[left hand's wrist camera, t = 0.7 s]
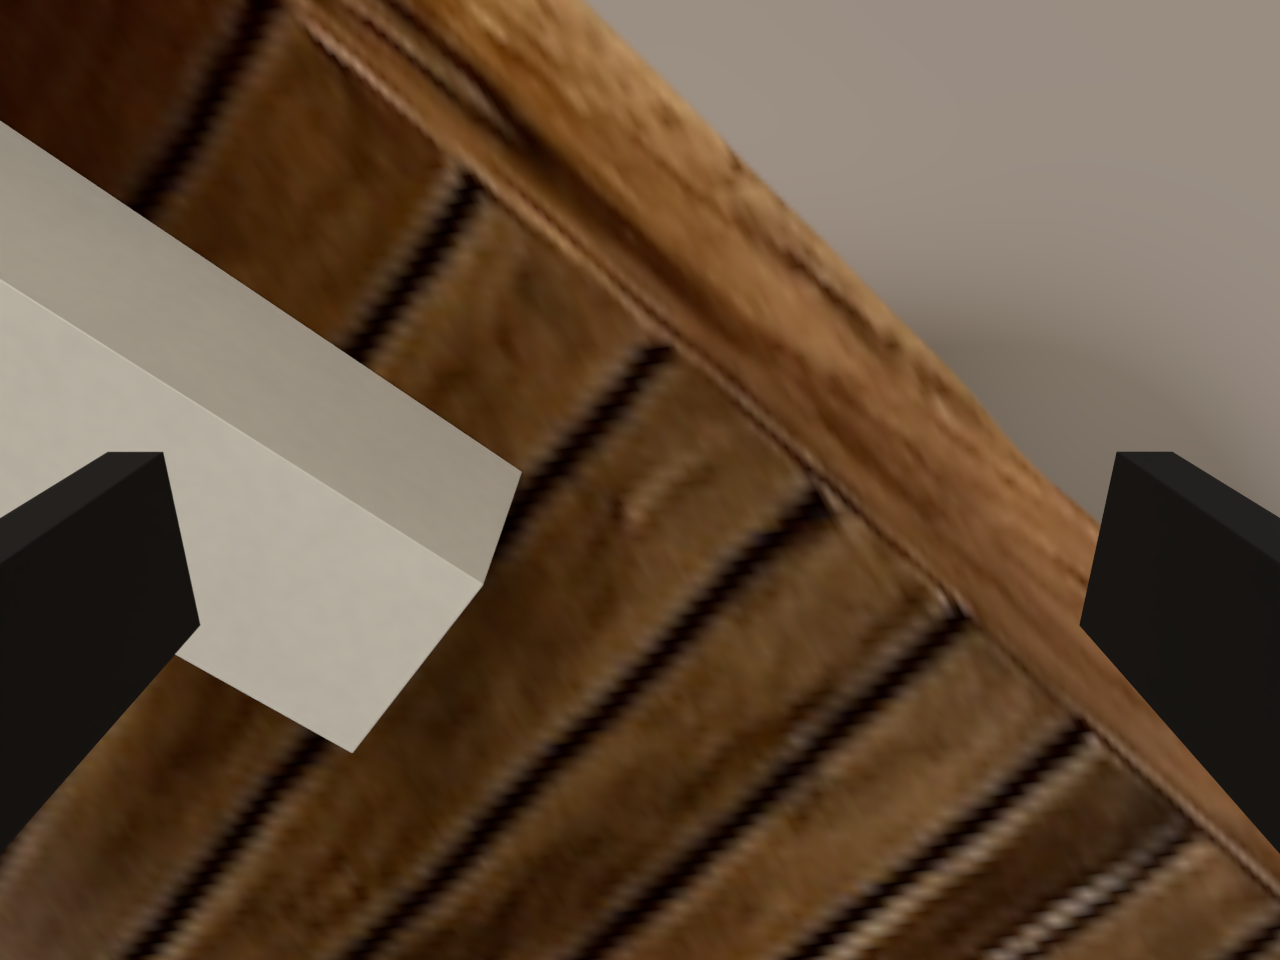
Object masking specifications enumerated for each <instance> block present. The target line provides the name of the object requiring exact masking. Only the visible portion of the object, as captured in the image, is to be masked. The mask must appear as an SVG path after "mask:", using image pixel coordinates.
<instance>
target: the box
mask: <svg viewBox="0 0 1280 960" xmlns="http://www.w3.org/2000/svg"><path fill="white" fill-rule="evenodd" d="M107 452H163V453H164V457H165V462H166V467H167V471H168V476H169V481H170V485H171V490H172V495H173V499H174V504H175V509H176V513H177V518H178V523H179V527H180V532H181V537H182V541H183V546H184V551H185V555H186V560H187V565H188V569H189V574H190V579H191V583H192V588H193V593H194V597H195V602H196V607H197V611H198V616H199V621H200V626H199V628H198V629H197V630H196V631H195V632H194V633H193V634H192V636H191V637H190V638H189V639H188V640H187V641H186V642H185V644H184V645H183V646H182V647H181V648H180V649H179V650H178V651H177V653H176V654H175V655H177V656H179V657H181V658H182V659H184V660H186V661H188V662H189V663H191V664H193V665H195V666H197V667H198V668H200V669H202V670H204V671H206V672H207V673H209V674H211V675H213V676H215V677H216V678H218V679H220V680H222V681H224V682H225V683H227V684H229V685H231V686H232V687H234V688H236V689H238V690H240V691H241V692H243V693H245V694H247V695H249V696H250V697H252V698H254V699H256V700H258V701H259V702H261V703H263V704H265V705H267V706H268V707H270V708H272V709H274V710H275V711H277V712H279V713H281V714H283V715H284V716H286V717H288V718H290V719H292V720H293V721H295V722H297V723H299V724H301V725H302V726H304V727H306V728H308V729H310V730H311V731H313V732H315V733H317V734H318V735H320V736H322V737H324V738H326V739H327V740H329V741H331V742H333V743H335V744H336V745H338V746H340V747H342V748H344V749H345V750H347V751H349V752H351V753H353V752H354V751H355V750H356V748H357V747H358V746H359V744H360V743H361V742H362V741H363V739H364V738H365V737H366V735H367V734H368V733H369V732H370V730H371V729H372V728H373V726H374V725H375V724H376V723H377V721H378V720H379V719H380V717H381V716H382V715H383V714H384V712H385V711H386V710H387V708H388V707H389V706H390V704H391V703H392V702H393V701H394V699H395V698H396V697H397V695H398V694H399V693H400V692H401V690H402V689H403V688H404V686H405V685H406V684H407V683H408V681H409V680H410V679H411V677H412V676H413V675H414V674H415V672H416V671H417V670H418V668H419V667H420V666H421V665H422V663H423V662H424V661H425V659H426V658H427V657H428V656H429V654H430V653H431V652H432V650H433V649H434V648H435V647H436V645H437V644H438V643H439V641H440V640H441V639H442V638H443V636H444V635H445V634H446V632H447V631H448V630H449V629H450V627H451V626H452V625H453V623H454V622H455V621H456V620H457V618H458V617H459V616H460V614H461V613H462V612H463V611H464V609H465V608H466V607H467V605H468V604H469V603H470V601H471V600H472V599H473V598H474V596H475V595H476V594H477V592H478V591H479V590H480V589H481V587H482V586H483V584H484V581H485V578H486V575H487V572H488V570H489V567H490V564H491V561H492V558H493V555H494V552H495V549H496V546H497V543H498V540H499V538H500V535H501V532H502V529H503V526H504V523H505V520H506V517H507V514H508V511H509V508H510V506H511V503H512V500H513V497H514V494H515V491H516V488H517V485H518V482H519V479H520V476H521V474H522V472H521V471H520V470H518V469H517V468H515V467H514V466H512V465H511V464H509V463H508V462H506V461H505V460H503V459H502V458H500V457H499V456H497V455H496V454H494V453H493V452H491V451H490V450H488V449H487V448H485V447H484V446H482V445H481V444H479V443H478V442H477V441H475V440H474V439H472V438H471V437H469V436H468V435H466V434H465V433H463V432H462V431H460V430H459V429H457V428H456V427H454V426H453V425H451V424H450V423H448V422H447V421H445V420H444V419H442V418H441V417H439V416H438V415H436V414H435V413H433V412H432V411H430V410H429V409H428V408H426V407H425V406H423V405H422V404H420V403H419V402H417V401H416V400H414V399H413V398H411V397H410V396H408V395H407V394H405V393H404V392H402V391H401V390H399V389H398V388H396V387H395V386H393V385H392V384H390V383H389V382H387V381H386V380H384V379H383V378H381V377H380V376H378V375H377V374H376V373H374V372H373V371H371V370H370V369H368V368H367V367H365V366H364V365H362V364H361V363H359V362H358V361H356V360H355V359H353V358H352V357H350V356H349V355H347V354H346V353H344V352H343V351H341V350H340V349H338V348H337V347H335V346H334V345H332V344H331V343H329V342H328V341H327V340H325V339H324V338H322V337H321V336H319V335H318V334H316V333H315V332H313V331H312V330H310V329H309V328H307V327H306V326H304V325H303V324H301V323H300V322H298V321H297V320H295V319H294V318H292V317H291V316H289V315H288V314H286V313H285V312H283V311H282V310H280V309H279V308H277V307H276V306H275V305H273V304H272V303H270V302H269V301H267V300H266V299H264V298H263V297H261V296H260V295H258V294H257V293H255V292H254V291H252V290H251V289H249V288H248V287H246V286H245V285H243V284H242V283H240V282H239V281H237V280H236V279H234V278H233V277H231V276H230V275H228V274H227V273H226V272H224V271H223V270H221V269H220V268H218V267H217V266H215V265H214V264H212V263H211V262H209V261H208V260H206V259H205V258H203V257H202V256H200V255H199V254H197V253H196V252H194V251H193V250H191V249H190V248H188V247H187V246H185V245H184V244H182V243H181V242H179V241H178V240H176V239H175V238H174V237H172V236H171V235H169V234H168V233H166V232H165V231H163V230H162V229H160V228H159V227H157V226H156V225H154V224H153V223H151V222H150V221H148V220H147V219H145V218H144V217H142V216H141V215H139V214H138V213H136V212H135V211H133V210H132V209H130V208H129V207H127V206H126V205H125V204H123V203H122V202H120V201H119V200H117V199H116V198H114V197H113V196H111V195H110V194H108V193H107V192H105V191H104V190H102V189H101V188H99V187H98V186H96V185H95V184H93V183H92V182H90V181H89V180H87V179H86V178H84V177H83V176H81V175H80V174H78V173H77V172H75V171H74V170H73V169H71V168H70V167H68V166H67V165H65V164H64V163H62V162H61V161H59V160H58V159H56V158H55V157H53V156H52V155H50V154H49V153H47V152H46V151H44V150H43V149H41V148H40V147H38V146H37V145H35V144H34V143H32V142H31V141H29V140H28V139H26V138H25V137H24V136H22V135H21V134H19V133H18V132H16V131H15V130H13V129H12V128H10V127H9V126H7V125H6V124H4V123H3V122H1V121H0V518H1V517H3V516H4V515H6V514H7V513H9V512H11V511H12V510H14V509H16V508H17V507H19V506H20V505H22V504H24V503H25V502H27V501H29V500H30V499H32V498H33V497H35V496H37V495H38V494H40V493H42V492H43V491H45V490H46V489H48V488H50V487H51V486H53V485H55V484H56V483H58V482H59V481H61V480H63V479H64V478H66V477H68V476H69V475H71V474H72V473H74V472H76V471H77V470H79V469H81V468H82V467H84V466H85V465H87V464H89V463H90V462H92V461H94V460H95V459H97V458H98V457H100V456H102V455H103V454H105V453H107Z"/></svg>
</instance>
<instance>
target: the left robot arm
mask: <svg viewBox="0 0 1280 960" xmlns="http://www.w3.org/2000/svg"><path fill="white" fill-rule="evenodd" d="M199 626H200V621H199V616H198V611H197V607H196V602H195V597H194V593H193V588H192V583H191V579H190V574H189V569H188V565H187V560H186V555H185V551H184V546H183V541H182V537H181V532H180V527H179V523H178V518H177V513H176V509H175V504H174V499H173V495H172V490H171V485H170V481H169V476H168V471H167V467H166V462H165V457H164V453H163V452H107V453H105V454H103V455H102V456H100V457H98V458H97V459H95V460H94V461H92V462H90V463H89V464H87V465H85V466H84V467H82V468H81V469H79V470H77V471H76V472H74V473H72V474H71V475H69V476H68V477H66V478H64V479H63V480H61V481H59V482H58V483H56V484H55V485H53V486H51V487H50V488H48V489H46V490H45V491H43V492H42V493H40V494H38V495H37V496H35V497H33V498H32V499H30V500H29V501H27V502H25V503H24V504H22V505H20V506H19V507H17V508H16V509H14V510H12V511H11V512H9V513H7V514H6V515H4V516H3V517H1V518H0V853H1V852H2V851H3V850H4V849H5V848H6V847H7V845H8V844H9V843H10V842H11V841H12V840H13V839H14V837H15V836H16V835H17V834H18V833H19V832H20V831H21V829H22V828H23V827H24V826H25V825H26V824H27V823H28V821H29V820H30V819H31V818H32V817H33V816H34V815H35V813H36V812H37V811H38V810H39V809H40V808H41V807H42V805H43V804H44V803H45V802H46V801H47V800H48V799H49V798H50V796H51V795H52V794H53V793H54V792H55V791H56V790H57V788H58V787H59V786H60V785H61V784H62V783H63V782H64V780H65V779H66V778H67V777H68V776H69V775H70V774H71V772H72V771H73V770H74V769H75V768H76V767H77V766H78V764H79V763H80V762H81V761H82V760H83V759H84V758H85V756H86V755H87V754H88V753H89V752H90V751H91V750H92V748H93V747H94V746H95V745H96V744H97V743H98V742H99V740H100V739H101V738H102V737H103V736H104V735H105V734H106V732H107V731H108V730H109V729H110V728H111V727H112V726H113V725H114V723H115V722H116V721H117V720H118V719H119V718H120V717H121V715H122V714H123V713H124V712H125V711H126V710H127V709H128V707H129V706H130V705H131V704H132V703H133V702H134V701H135V699H136V698H137V697H138V696H139V695H140V694H141V693H142V691H143V690H144V689H145V688H146V687H147V686H148V685H149V683H150V682H151V681H152V680H153V679H154V678H155V677H156V675H157V674H158V673H159V672H160V671H161V670H162V669H163V667H164V666H165V665H166V664H167V663H168V662H169V661H170V659H171V658H172V657H173V656H174V655H175V654H176V653H177V651H178V650H179V649H180V648H181V647H182V646H183V645H184V644H185V642H186V641H187V640H188V639H189V638H190V637H191V636H192V634H193V633H194V632H195V631H196V630H197V629H198V628H199ZM1080 626H1081V628H1082V629H1083V630H1084V631H1085V632H1086V633H1087V634H1088V636H1089V637H1090V638H1091V639H1092V640H1093V641H1094V642H1095V644H1096V645H1097V646H1098V647H1099V648H1100V649H1101V650H1102V652H1103V653H1104V654H1105V655H1106V656H1107V657H1108V658H1109V659H1110V661H1111V662H1112V663H1113V664H1114V665H1115V666H1116V667H1117V669H1118V670H1119V671H1120V672H1121V673H1122V674H1123V675H1124V677H1125V678H1126V679H1127V680H1128V681H1129V682H1130V683H1131V685H1132V686H1133V687H1134V688H1135V689H1136V690H1137V691H1138V693H1139V694H1140V695H1141V696H1142V697H1143V698H1144V699H1145V701H1146V702H1147V703H1148V704H1149V705H1150V706H1151V707H1152V709H1153V710H1154V711H1155V712H1156V713H1157V714H1158V715H1159V717H1160V718H1161V719H1162V720H1163V721H1164V722H1165V723H1166V725H1167V726H1168V727H1169V728H1170V729H1171V730H1172V731H1173V732H1174V734H1175V735H1176V736H1177V737H1178V738H1179V739H1180V740H1181V742H1182V743H1183V744H1184V745H1185V746H1186V747H1187V748H1188V750H1189V751H1190V752H1191V753H1192V754H1193V755H1194V756H1195V758H1196V759H1197V760H1198V761H1199V762H1200V763H1201V764H1202V766H1203V767H1204V768H1205V769H1206V770H1207V771H1208V772H1209V774H1210V775H1211V776H1212V777H1213V778H1214V779H1215V780H1216V782H1217V783H1218V784H1219V785H1220V786H1221V787H1222V788H1223V790H1224V791H1225V792H1226V793H1227V794H1228V795H1229V796H1230V798H1231V799H1232V800H1233V801H1234V802H1235V803H1236V804H1237V805H1238V807H1239V808H1240V809H1241V810H1242V811H1243V812H1244V813H1245V815H1246V816H1247V817H1248V818H1249V819H1250V820H1251V821H1252V823H1253V824H1254V825H1255V826H1256V827H1257V828H1258V829H1259V831H1260V832H1261V833H1262V834H1263V835H1264V836H1265V837H1266V839H1267V840H1268V841H1269V842H1270V843H1271V844H1272V845H1273V847H1274V848H1275V849H1276V850H1277V851H1278V852H1279V853H1280V518H1279V517H1277V516H1276V515H1274V514H1273V513H1271V512H1269V511H1268V510H1266V509H1264V508H1263V507H1261V506H1259V505H1258V504H1256V503H1255V502H1253V501H1251V500H1250V499H1248V498H1247V497H1245V496H1243V495H1242V494H1240V493H1238V492H1237V491H1235V490H1233V489H1232V488H1230V487H1229V486H1227V485H1225V484H1224V483H1222V482H1221V481H1219V480H1217V479H1216V478H1214V477H1212V476H1211V475H1209V474H1208V473H1206V472H1204V471H1203V470H1201V469H1199V468H1198V467H1196V466H1195V465H1193V464H1191V463H1190V462H1188V461H1186V460H1185V459H1183V458H1182V457H1180V456H1178V455H1177V454H1175V453H1173V452H1117V453H1116V458H1115V462H1114V467H1113V471H1112V476H1111V481H1110V485H1109V490H1108V495H1107V499H1106V504H1105V509H1104V513H1103V518H1102V523H1101V527H1100V532H1099V537H1098V541H1097V546H1096V551H1095V555H1094V560H1093V565H1092V569H1091V574H1090V579H1089V583H1088V588H1087V593H1086V597H1085V602H1084V607H1083V611H1082V616H1081V621H1080Z"/></svg>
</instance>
